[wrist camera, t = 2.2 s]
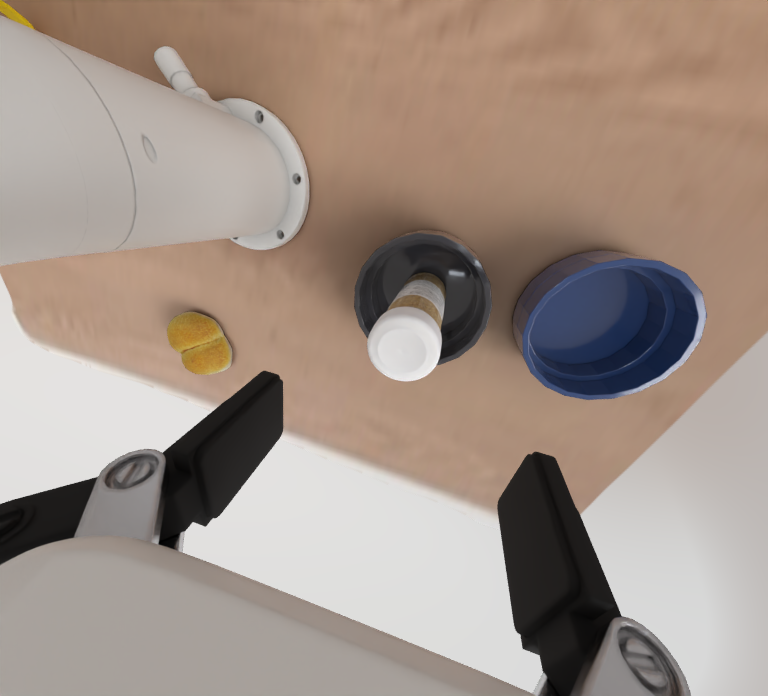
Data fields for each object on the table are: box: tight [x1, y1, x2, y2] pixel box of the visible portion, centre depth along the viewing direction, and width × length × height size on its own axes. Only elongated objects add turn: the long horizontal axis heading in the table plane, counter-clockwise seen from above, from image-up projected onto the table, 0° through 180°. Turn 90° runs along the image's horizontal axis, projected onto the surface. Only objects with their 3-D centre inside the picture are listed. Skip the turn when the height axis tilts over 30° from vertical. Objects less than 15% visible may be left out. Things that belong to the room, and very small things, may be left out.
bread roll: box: [167, 312, 232, 375], centre depth 37 cm, size 8×9×4 cm
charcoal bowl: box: [354, 230, 492, 365], centre depth 26 cm, size 12×12×5 cm
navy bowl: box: [513, 250, 707, 400], centre depth 24 cm, size 12×12×5 cm
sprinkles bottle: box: [367, 273, 446, 381], centre depth 22 cm, size 5×5×14 cm
